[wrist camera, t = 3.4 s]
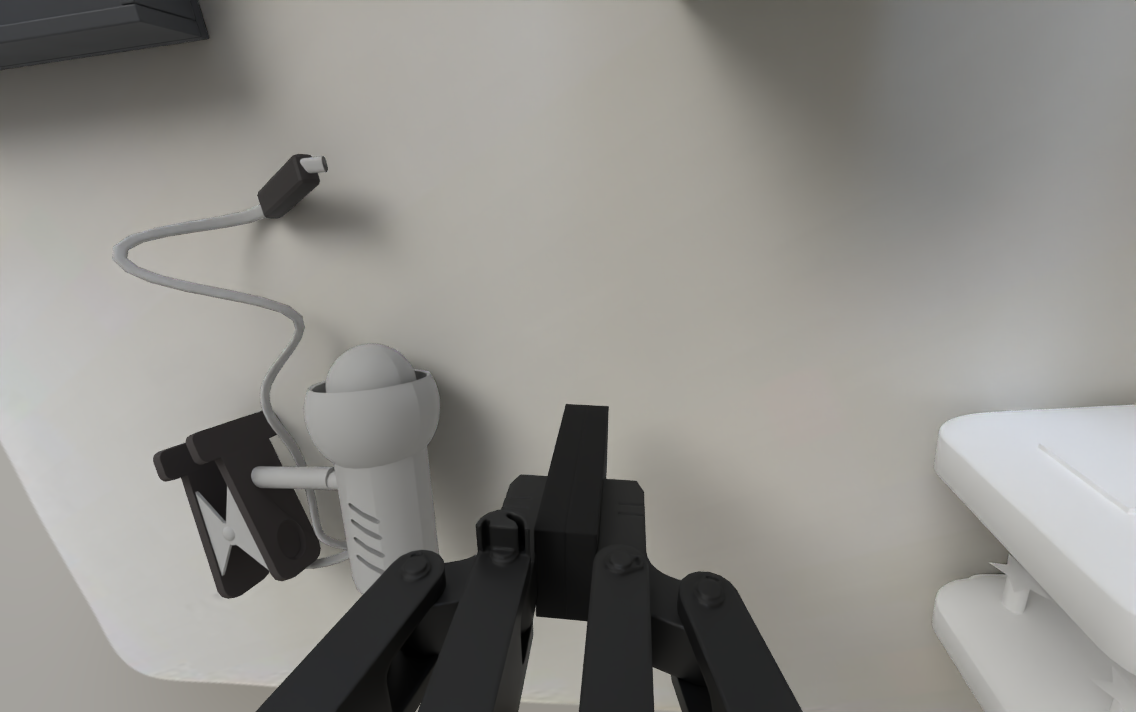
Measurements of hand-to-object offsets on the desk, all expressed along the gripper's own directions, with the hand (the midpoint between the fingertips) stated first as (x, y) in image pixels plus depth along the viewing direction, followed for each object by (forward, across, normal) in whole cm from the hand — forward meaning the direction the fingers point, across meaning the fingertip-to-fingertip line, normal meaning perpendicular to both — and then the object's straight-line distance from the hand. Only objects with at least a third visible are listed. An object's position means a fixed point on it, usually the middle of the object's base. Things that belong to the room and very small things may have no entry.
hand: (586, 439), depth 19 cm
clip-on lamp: (+4, -12, 0) cm, 13 cm away
